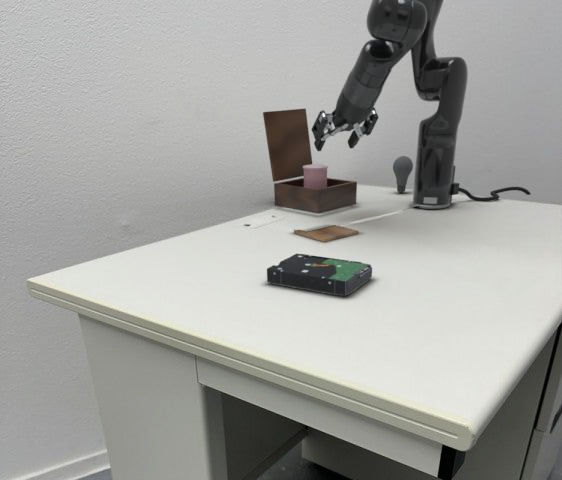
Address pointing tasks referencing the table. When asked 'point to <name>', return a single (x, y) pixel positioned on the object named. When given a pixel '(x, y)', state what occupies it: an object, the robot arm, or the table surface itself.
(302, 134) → the chest lid
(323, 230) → the cork pad
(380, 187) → the table surface
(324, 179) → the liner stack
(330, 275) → the disk drive
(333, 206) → the chest
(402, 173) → the light bulb
